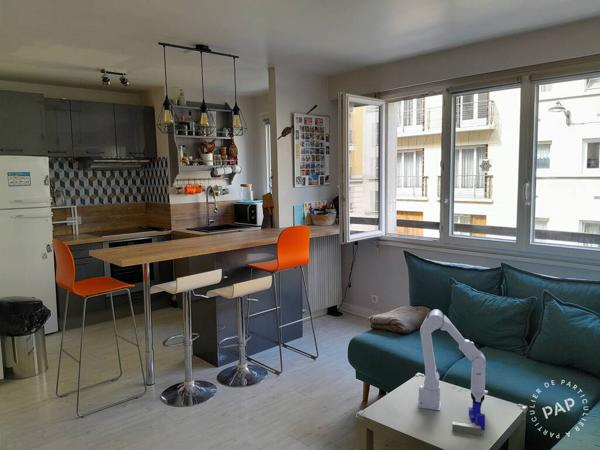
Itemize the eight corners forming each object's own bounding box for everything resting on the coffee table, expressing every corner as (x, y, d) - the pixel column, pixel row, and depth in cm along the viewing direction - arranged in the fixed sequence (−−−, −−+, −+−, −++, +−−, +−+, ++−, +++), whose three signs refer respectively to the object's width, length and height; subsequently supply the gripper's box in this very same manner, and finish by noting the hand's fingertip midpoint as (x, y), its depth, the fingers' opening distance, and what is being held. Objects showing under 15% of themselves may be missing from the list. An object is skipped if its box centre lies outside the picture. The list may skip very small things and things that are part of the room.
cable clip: (468, 413, 201) (469, 400, 200) (479, 414, 200) (479, 401, 199) (473, 428, 189) (473, 414, 188) (484, 429, 188) (485, 416, 188)
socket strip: (452, 430, 188) (452, 424, 187) (452, 428, 190) (452, 421, 189) (480, 435, 184) (481, 428, 184) (480, 433, 186) (480, 426, 186)
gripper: (488, 389, 192) (487, 419, 194) (487, 374, 206) (486, 403, 207) (470, 386, 195) (470, 417, 196) (470, 372, 208) (469, 401, 210)
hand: (477, 409), depth 202 cm, fingers closed
